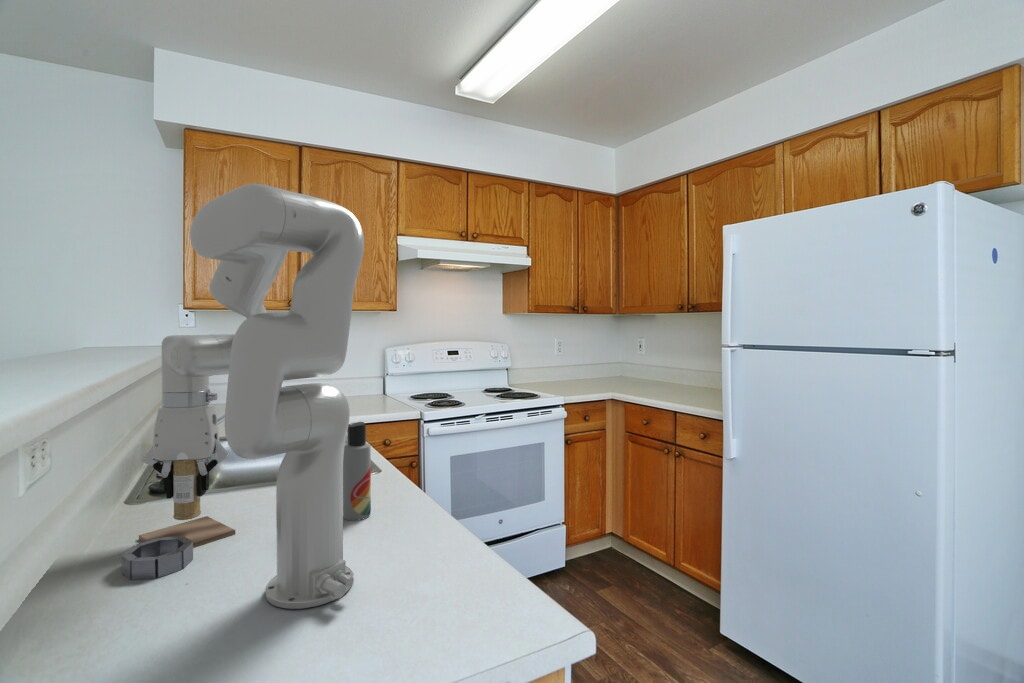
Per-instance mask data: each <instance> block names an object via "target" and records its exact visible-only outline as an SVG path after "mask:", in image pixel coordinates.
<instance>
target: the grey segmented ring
mask: <svg viewBox="0 0 1024 683" xmlns="http://www.w3.org/2000/svg"><path fill="white" fill-rule="evenodd" d="M193 560H194V547H193V541H191V540H190V539H188V538H186V537H183V536H180V537H162V538H157V539H154V540H150V541H147V542H141V543H136V545H133V546H131V547H130V548H129V549H127V550H126V551H124V552H123V553H122V554H121V574H122V575H123V574H124V576H125V577H126V578H127V579H128V580H131V581H136V580H138V581H139V580H149V579H153V580H154V579H157V578H158V579H159V578H162V577H164V576H168V575H170V574H172V573H176V572H179V571H182V569H185V568H186V567H187V566H188V565H189V564H190V563H191V562H192V561H193Z"/></svg>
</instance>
